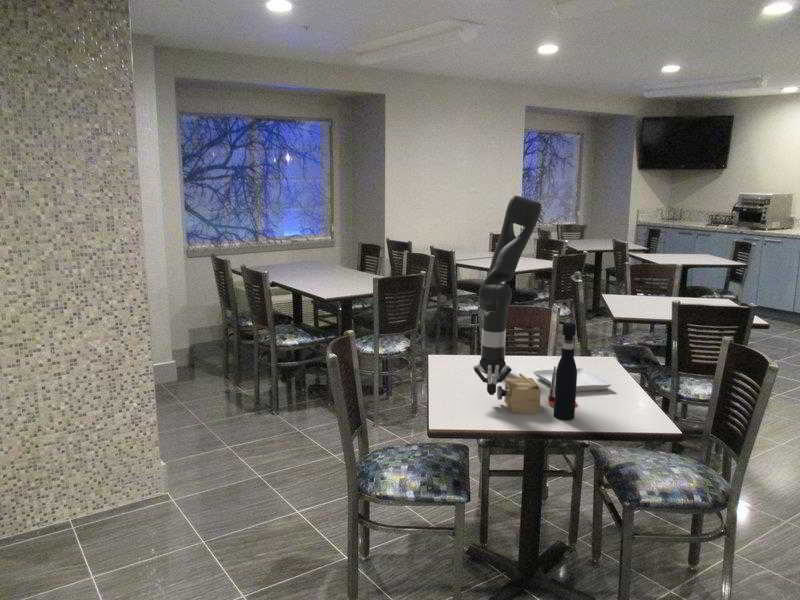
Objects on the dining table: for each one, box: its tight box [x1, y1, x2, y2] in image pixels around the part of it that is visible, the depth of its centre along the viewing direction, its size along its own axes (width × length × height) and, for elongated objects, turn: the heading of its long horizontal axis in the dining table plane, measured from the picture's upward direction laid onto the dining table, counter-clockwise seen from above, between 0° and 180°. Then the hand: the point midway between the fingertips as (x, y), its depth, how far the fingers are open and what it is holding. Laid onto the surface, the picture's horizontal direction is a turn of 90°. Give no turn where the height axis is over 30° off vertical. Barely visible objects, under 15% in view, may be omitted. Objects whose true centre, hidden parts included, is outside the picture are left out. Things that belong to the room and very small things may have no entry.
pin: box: [496, 385, 508, 401], centre depth 212 cm, size 13×5×5 cm, turn 92°
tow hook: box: [547, 366, 578, 408], centre depth 213 cm, size 8×13×9 cm
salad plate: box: [532, 367, 612, 393], centre depth 235 cm, size 21×21×3 cm
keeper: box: [518, 372, 535, 387], centre depth 205 cm, size 3×6×1 cm
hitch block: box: [503, 377, 542, 414], centre depth 210 cm, size 12×9×9 cm
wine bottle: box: [552, 322, 578, 421], centre depth 199 cm, size 6×6×30 cm
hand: (491, 394), depth 212 cm, fingers closed
